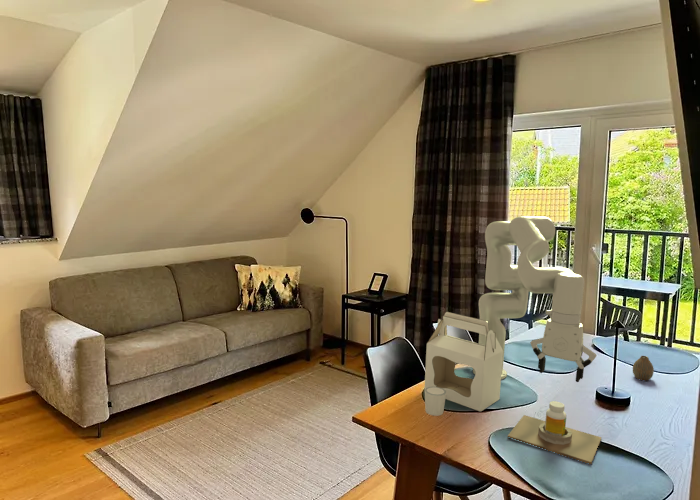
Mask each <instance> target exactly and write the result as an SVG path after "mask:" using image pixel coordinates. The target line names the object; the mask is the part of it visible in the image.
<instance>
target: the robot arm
mask: <svg viewBox="0 0 700 500" xmlns="http://www.w3.org/2000/svg"><path fill="white" fill-rule="evenodd" d="M555 235H556V227H555V223H554V222H553V220H552V219H551V218H549V217H547V216H543V215H541V216H540V215H539V216H536V215H533V216H532V215H521V216H516V217H514V218H513V219H512V220H500V221H499V220H498V221H496V220H495V221H492V222H491V223H489V224H488V225H487V226H486V228H485V232H484V240H485V241H484V242H485V246H486V251H487V252H486V253H487V256H486V266H485V267H486V268H485V278H484V279H485V280H484V282H485V286H486V288H488V289H489V290H493V291H512V292H487V293H484V294H482V295H481V296H479V300H478V311H479V319H481V320H485V321H488V323H489V330H492V331H493V332H495V335H496V338H497V340H498V342H499V344H500V346H501V348H502V349H503V359H502V372H501V380H503V379H505V378H507V376H508V375H507V374H508V372H507V371H506V370H505V369H504V359H505V358H504V357H505V345H506V335H507V334H506V327H505V326H504V324H503V323H502V322H501V319H520V318H523V317H525V315H526V312H527V308H528V303H529V302H528V301H529V293H532V294H552V302H551V303H552V304H551V309H549V310H548V309H547V310H546V311H545V315H546V316H549V317H550V318H548V319H547V321H546V324H545V327H544V332H543V337H540V338H537V339H532V340H531V341H530V346H531V348H532V351H533V353H534V354H535V355H536V357H537V359H538V363H537V365H538V366H537V369H539V371H538V372H539V373H540V374H542V373H544V372H545V370H546V361H547V359H546V356H548V357H550V358H554V359H558V360H559V359H560V360H564V361H569V362H575V364H576V365H577V367H576V373H575V382H576V383H579V382H580V380H583V378H584V370H585V369H584V368H587V367H588V366H590V365H591V364H592V362H593V361H594V360H595V359H596V358H597V353H595V352H594V351H592V350H591V349H589V348H588V347H587V346H586V345H585V344H584V328H583V324H582V323H581V319H582V318H581V317H582V307H583V299H584V288H585V278H584V276H582V275H581V274H578V273H574V271H572V270H571V269H570V268H567V267H548V266H547V267H543V266H541V267H537V266H536V267H535V266H534V265H533V264H534V263H537V262H538V261H540V260H543V259H544V258H545V257H546V256H547V255H548V254H549V251H550V244H549V242H551V241H552V240H553V238H555ZM509 246H516V247H517V248H518V251H520V254H519V256H518V258H517V264H511V261H512V251H511V249H510V247H509ZM478 334H479V335H478V343H479V344H482V345H486V336H485V335H483V334H480V333H478ZM538 345H541V349H540V348H539V347H538ZM583 353H584V354H585V355H587V356H588V358H587V359H583V357H582V356H583ZM472 373H473V374H474V375H475V374H476V372H475V370H474V369H473V368H472Z"/></svg>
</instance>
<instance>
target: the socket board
mask: <svg viewBox="0 0 700 500" xmlns="http://www.w3.org/2000/svg"><path fill="white" fill-rule="evenodd" d="M508 437H510V438H513V439H516V440H519V441H522V442H525V443H528V444H531V445H534V446H537V447H540V448H543V449H546V450H548V451H547V452H549V451H552V452H555V453H557V454H556V455H558V454H560V455H559V456H562V455H563V456H562V457H565V456H566V457H565V458H568V457H569V458H568V459H571V458H573V459H572V460H574V459H576V460H575V461H577V460H579V461H578V462H580V461H582V462H581V463H583V462H585V463H584V464H586V463H589V464H588V465H590V464H591V465H593V462H592V461H594V459H595V457H594V456H596V455H597V452H596V451H598V449H599V447H598V446H600V445H601V442H602V438H603V437H601V436H599V435H594V434H591V433H587V432H584V431H581V430H578V429H574V428H570V427H568V426H565V435H564V436H556V435H552V434H549V433H547V432H546V431H545V420H544V419H543V420H542V419H539V418H536V417H532V416H528V415H525V414H523V416H521V418H520V419H519V421H518V422H517V423H516V424H515V426H514V427H513V428H512V430H511V431H510V432H509V433H508V434H507V438H508ZM600 441H601V442H600ZM537 447H536V448H537ZM540 448H539V449H540ZM597 448H598V449H597ZM543 449H542V450H543ZM546 450H545V451H546ZM552 452H551V453H552ZM555 453H554V454H555Z"/></svg>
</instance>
